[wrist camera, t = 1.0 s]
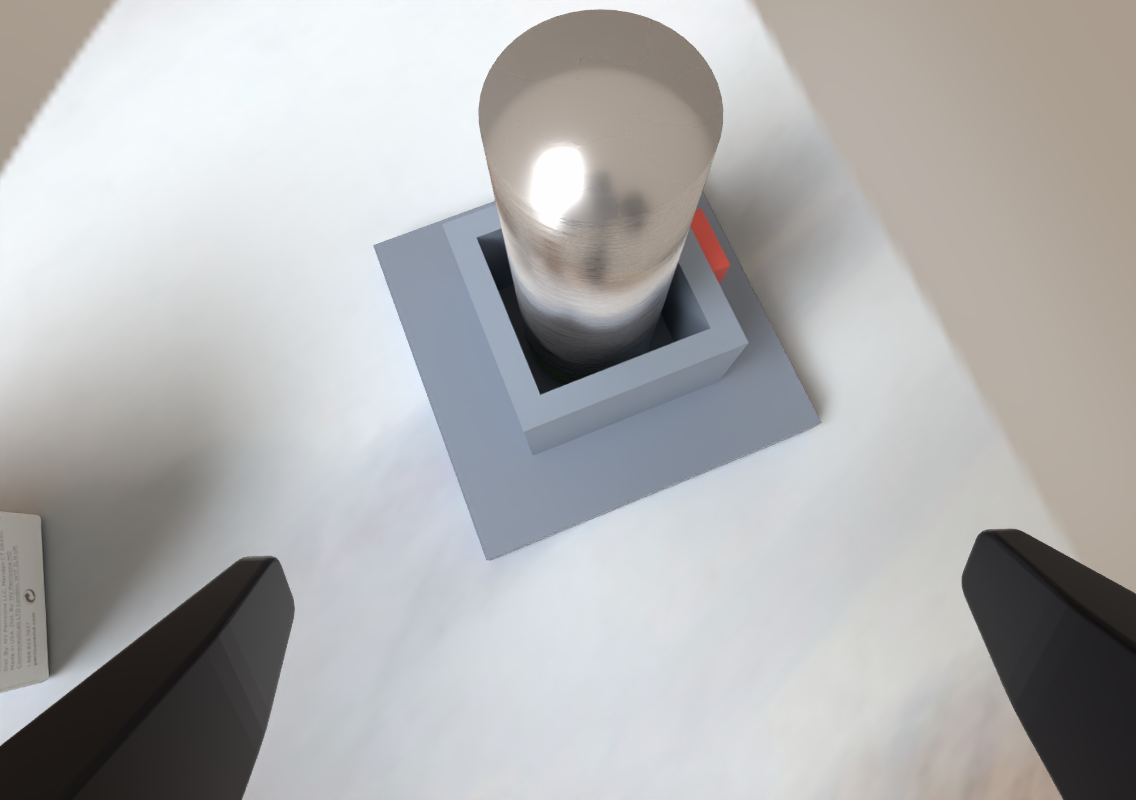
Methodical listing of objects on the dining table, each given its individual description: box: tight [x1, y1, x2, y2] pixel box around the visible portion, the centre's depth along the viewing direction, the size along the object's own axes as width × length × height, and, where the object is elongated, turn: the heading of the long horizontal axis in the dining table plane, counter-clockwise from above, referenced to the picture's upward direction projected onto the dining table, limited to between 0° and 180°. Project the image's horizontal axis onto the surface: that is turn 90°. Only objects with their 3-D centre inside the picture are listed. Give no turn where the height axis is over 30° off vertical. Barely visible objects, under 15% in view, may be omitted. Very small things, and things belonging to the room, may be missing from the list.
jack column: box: [479, 10, 723, 385], centre depth 17 cm, size 4×4×11 cm
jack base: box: [373, 191, 822, 560], centre depth 21 cm, size 12×12×5 cm
